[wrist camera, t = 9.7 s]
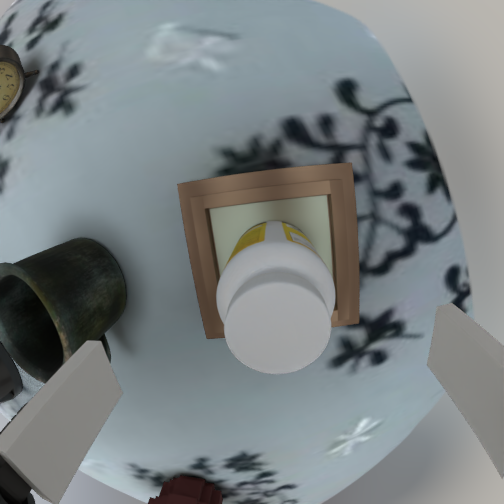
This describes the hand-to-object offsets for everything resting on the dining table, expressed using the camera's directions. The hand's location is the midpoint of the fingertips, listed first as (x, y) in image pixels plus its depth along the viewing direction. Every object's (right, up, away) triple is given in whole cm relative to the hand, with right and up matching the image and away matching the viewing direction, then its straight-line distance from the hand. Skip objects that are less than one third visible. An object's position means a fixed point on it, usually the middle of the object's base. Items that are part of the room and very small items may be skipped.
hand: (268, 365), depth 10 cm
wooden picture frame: (+1, +4, +17) cm, 17 cm away
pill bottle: (+1, +3, +14) cm, 14 cm away
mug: (-18, -1, +19) cm, 26 cm away
